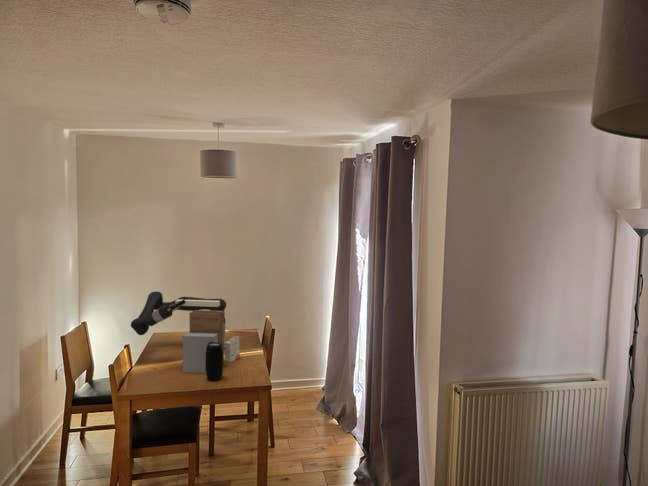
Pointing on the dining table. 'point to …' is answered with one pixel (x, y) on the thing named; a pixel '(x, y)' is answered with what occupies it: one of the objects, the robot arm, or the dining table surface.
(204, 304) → the cream bar
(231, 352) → the ink cartridge box
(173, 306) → the robot arm
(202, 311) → the walnut pedestal
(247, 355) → the dining table surface
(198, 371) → the grey stand
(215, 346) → the portable speaker
